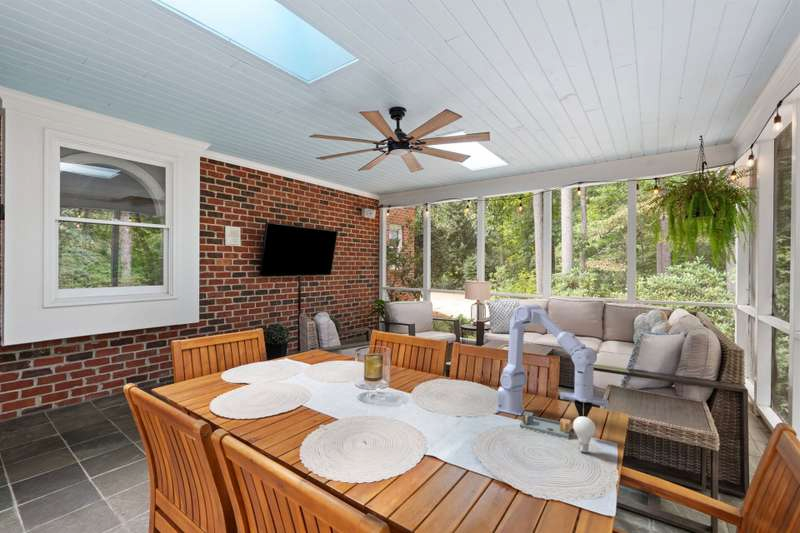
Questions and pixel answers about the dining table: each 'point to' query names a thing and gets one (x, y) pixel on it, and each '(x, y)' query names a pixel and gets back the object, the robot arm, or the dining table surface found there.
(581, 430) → the lightbulb
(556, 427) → the gauge board
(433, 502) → the dining table surface
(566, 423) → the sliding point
